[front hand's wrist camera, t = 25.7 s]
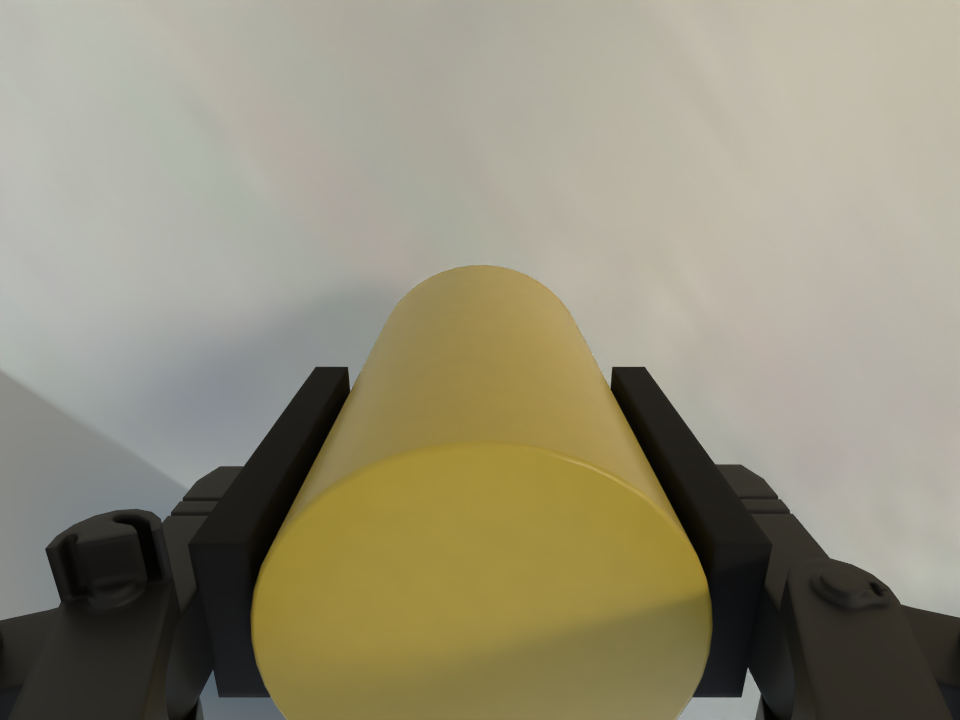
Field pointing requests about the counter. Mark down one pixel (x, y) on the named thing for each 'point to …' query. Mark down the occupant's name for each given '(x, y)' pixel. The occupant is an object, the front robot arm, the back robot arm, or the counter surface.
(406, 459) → the canister
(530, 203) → the counter surface
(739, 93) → the counter surface
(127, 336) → the counter surface
